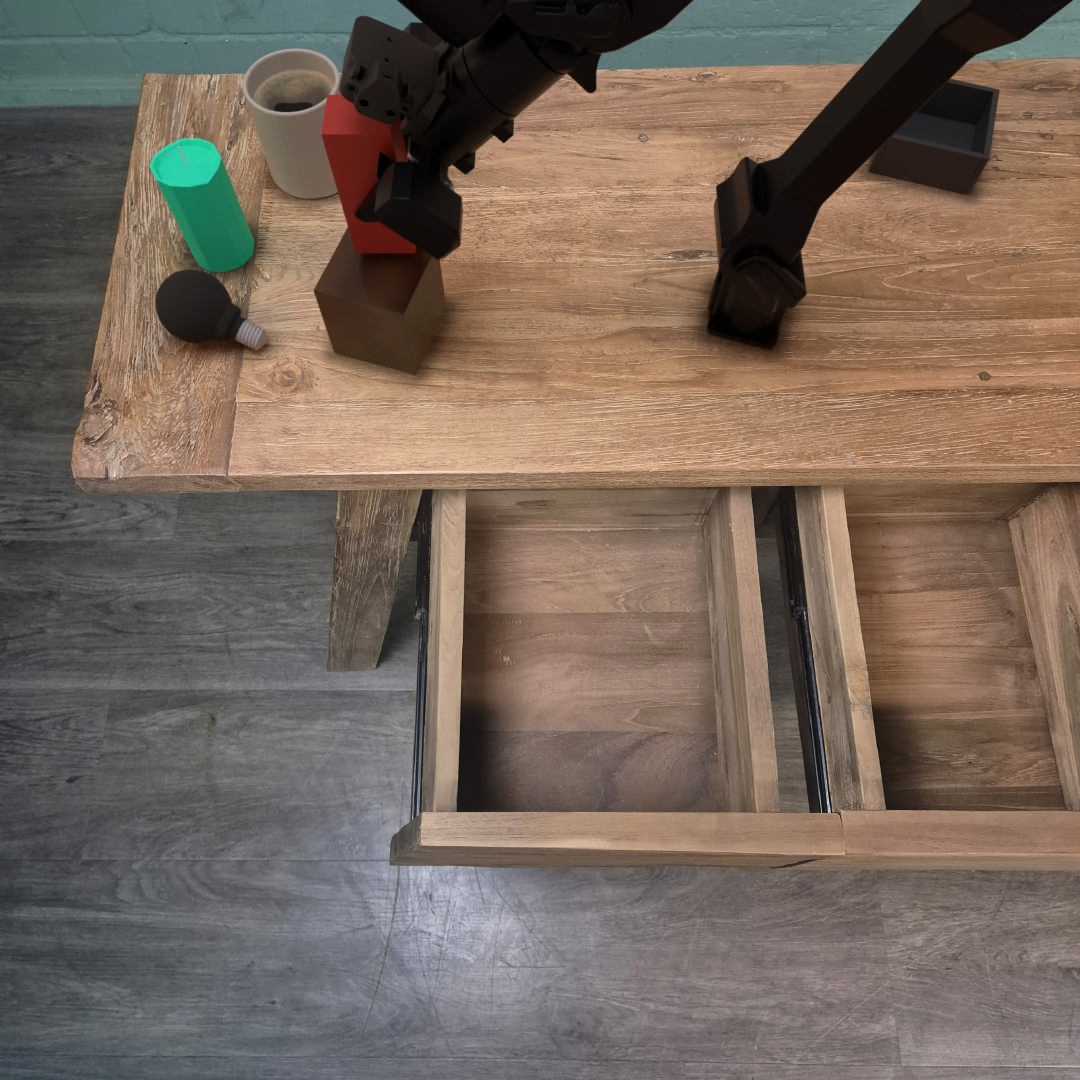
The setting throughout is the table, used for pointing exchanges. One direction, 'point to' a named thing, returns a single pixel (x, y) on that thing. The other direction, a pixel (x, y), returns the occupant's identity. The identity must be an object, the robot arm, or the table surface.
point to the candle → (204, 203)
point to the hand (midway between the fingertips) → (362, 197)
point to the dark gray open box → (943, 139)
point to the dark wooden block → (381, 305)
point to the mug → (293, 118)
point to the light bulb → (203, 311)
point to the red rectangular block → (361, 169)
